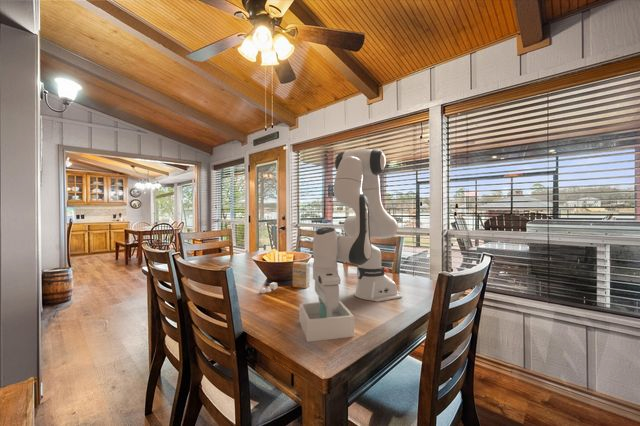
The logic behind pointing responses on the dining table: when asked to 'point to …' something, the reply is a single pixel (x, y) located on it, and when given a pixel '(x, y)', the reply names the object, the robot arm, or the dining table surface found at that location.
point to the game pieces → (269, 288)
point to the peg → (322, 310)
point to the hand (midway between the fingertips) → (325, 312)
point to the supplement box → (301, 274)
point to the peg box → (326, 322)
